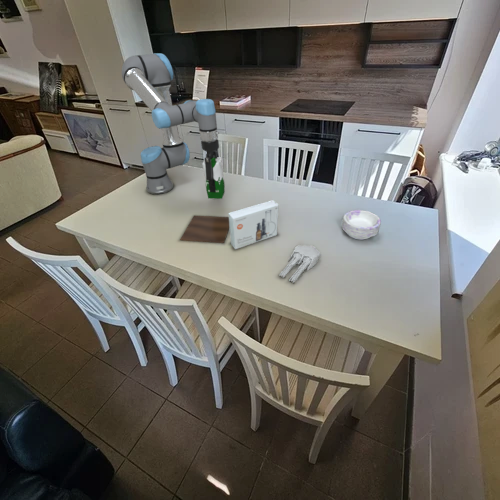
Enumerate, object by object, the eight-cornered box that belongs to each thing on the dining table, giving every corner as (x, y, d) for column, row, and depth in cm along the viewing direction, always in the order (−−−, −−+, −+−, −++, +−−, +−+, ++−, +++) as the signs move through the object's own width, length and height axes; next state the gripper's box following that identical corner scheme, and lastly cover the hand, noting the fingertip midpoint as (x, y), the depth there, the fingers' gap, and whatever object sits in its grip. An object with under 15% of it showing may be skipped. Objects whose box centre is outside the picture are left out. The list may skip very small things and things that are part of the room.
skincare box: (235, 250, 117) (232, 218, 107) (230, 243, 121) (226, 212, 111) (278, 235, 124) (279, 204, 114) (271, 229, 128) (272, 198, 118)
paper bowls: (351, 220, 131) (354, 205, 126) (382, 232, 122) (387, 217, 117) (333, 234, 123) (336, 219, 118) (365, 248, 114) (370, 233, 109)
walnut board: (194, 216, 140) (194, 215, 139) (233, 218, 137) (233, 217, 136) (180, 240, 124) (180, 239, 124) (223, 243, 121) (223, 242, 121)
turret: (275, 278, 107) (274, 270, 103) (302, 245, 116) (302, 237, 113) (297, 289, 101) (297, 281, 98) (324, 255, 111) (325, 246, 108)
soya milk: (205, 199, 135) (199, 159, 122) (209, 190, 142) (204, 151, 129) (223, 199, 134) (219, 159, 122) (226, 190, 141) (222, 151, 128)
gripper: (211, 148, 112) (217, 198, 127) (223, 131, 129) (227, 177, 143) (193, 148, 113) (201, 197, 128) (208, 131, 130) (213, 176, 144)
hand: (215, 186), depth 135 cm, fingers closed on soya milk, 9 cm apart
